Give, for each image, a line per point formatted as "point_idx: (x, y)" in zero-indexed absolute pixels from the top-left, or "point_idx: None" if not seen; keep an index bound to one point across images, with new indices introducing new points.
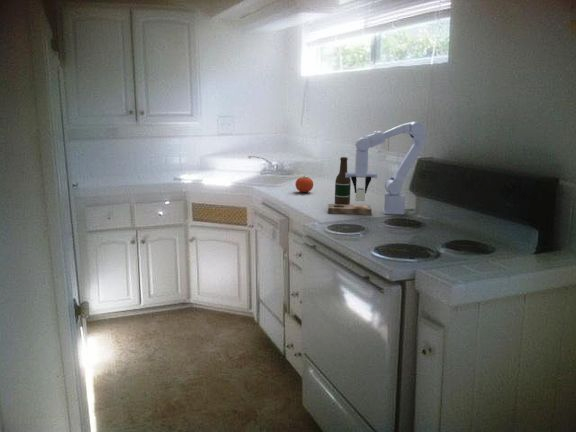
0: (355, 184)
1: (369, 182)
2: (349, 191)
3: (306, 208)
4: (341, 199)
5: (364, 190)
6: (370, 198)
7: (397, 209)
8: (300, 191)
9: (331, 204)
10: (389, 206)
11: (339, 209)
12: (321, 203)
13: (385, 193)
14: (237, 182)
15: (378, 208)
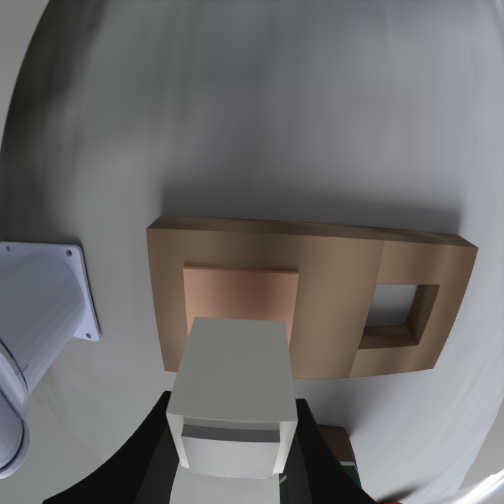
0: (324, 487)
1: (73, 487)
2: (287, 496)
3: (497, 336)
4: (332, 450)
5: (176, 405)
6: (186, 494)
7: (8, 263)
8: (396, 502)
9: (422, 361)
10: (29, 272)
11: (414, 240)
12: (399, 435)
13: (9, 363)
14: (461, 498)
15: (131, 387)
